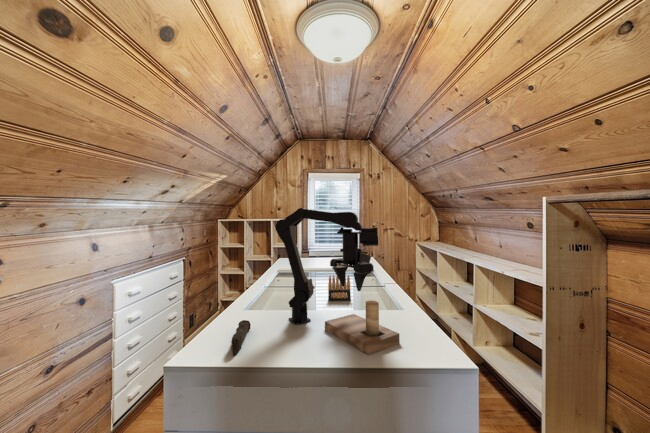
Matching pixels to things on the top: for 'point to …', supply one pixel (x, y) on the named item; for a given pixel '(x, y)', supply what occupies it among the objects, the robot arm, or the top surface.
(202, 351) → the top surface
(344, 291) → the ammunition clip
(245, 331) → the hand tool
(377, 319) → the oak peg
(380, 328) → the walnut board
